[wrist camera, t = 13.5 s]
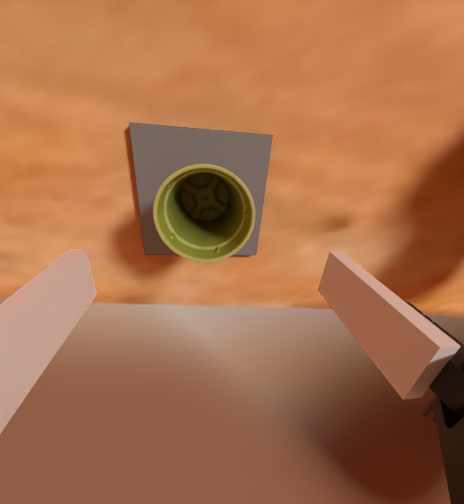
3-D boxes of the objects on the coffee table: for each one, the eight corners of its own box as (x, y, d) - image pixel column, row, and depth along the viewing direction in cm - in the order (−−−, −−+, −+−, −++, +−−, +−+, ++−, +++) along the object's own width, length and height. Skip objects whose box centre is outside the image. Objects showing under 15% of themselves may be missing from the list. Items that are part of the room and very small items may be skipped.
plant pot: (182, 239, 30) (176, 273, 22) (154, 170, 26) (134, 182, 18) (247, 220, 30) (263, 248, 22) (230, 147, 26) (242, 150, 18)
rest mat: (270, 135, 26) (272, 135, 25) (254, 252, 34) (256, 255, 33) (131, 123, 24) (128, 122, 23) (146, 251, 31) (144, 254, 30)
